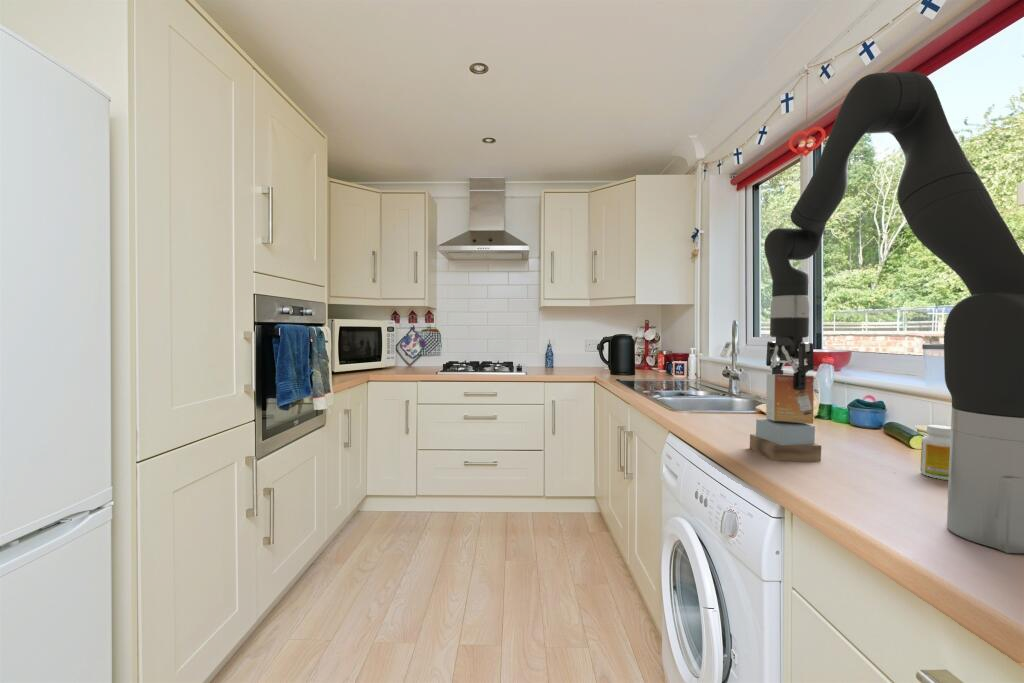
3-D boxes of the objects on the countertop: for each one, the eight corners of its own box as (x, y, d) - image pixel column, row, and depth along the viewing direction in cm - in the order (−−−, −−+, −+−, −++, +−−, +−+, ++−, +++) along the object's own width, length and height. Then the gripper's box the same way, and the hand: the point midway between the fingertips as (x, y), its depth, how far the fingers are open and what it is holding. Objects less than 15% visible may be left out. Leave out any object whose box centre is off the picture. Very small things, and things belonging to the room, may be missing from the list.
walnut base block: (820, 464, 97) (821, 445, 97) (774, 463, 97) (775, 445, 97) (791, 451, 107) (791, 434, 107) (749, 450, 107) (750, 434, 107)
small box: (773, 421, 100) (773, 374, 100) (765, 419, 105) (765, 373, 106) (814, 424, 98) (814, 375, 98) (804, 421, 103) (804, 375, 104)
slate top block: (814, 444, 98) (814, 426, 98) (780, 445, 97) (781, 426, 97) (787, 435, 106) (787, 418, 106) (755, 436, 105) (756, 419, 105)
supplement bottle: (966, 482, 85) (968, 430, 84) (932, 479, 86) (934, 429, 85) (944, 473, 90) (946, 424, 90) (913, 471, 91) (915, 423, 91)
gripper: (827, 315, 95) (825, 391, 96) (787, 317, 110) (786, 384, 110) (791, 315, 96) (789, 391, 96) (756, 317, 110) (755, 383, 110)
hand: (787, 387), depth 103 cm, fingers open, 8 cm apart
